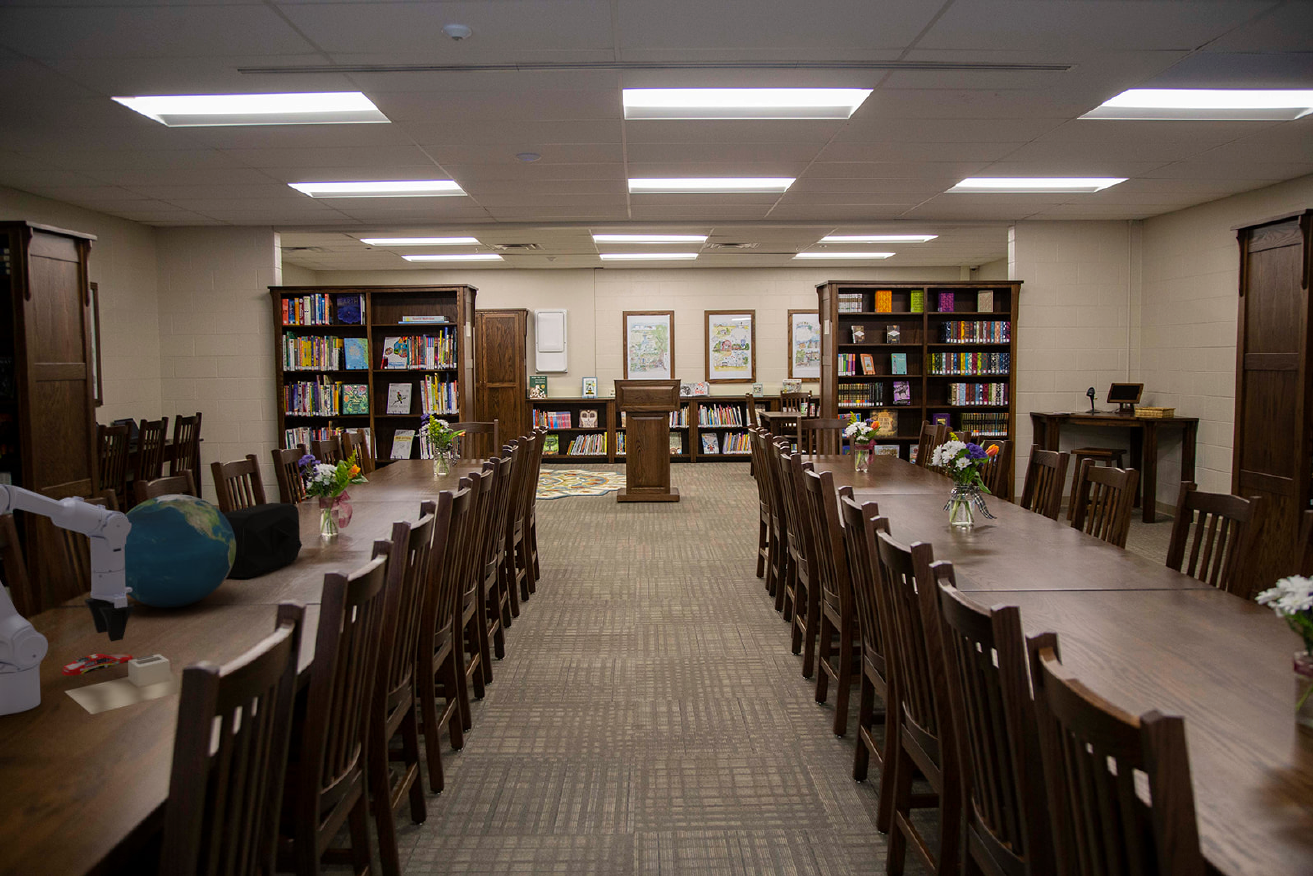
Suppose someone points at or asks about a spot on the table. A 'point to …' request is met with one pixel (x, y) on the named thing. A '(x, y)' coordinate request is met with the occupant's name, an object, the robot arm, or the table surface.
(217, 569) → the globe
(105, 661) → the race car
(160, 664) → the toy microwave
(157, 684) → the switch board
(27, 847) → the table surface
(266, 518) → the black hard case
